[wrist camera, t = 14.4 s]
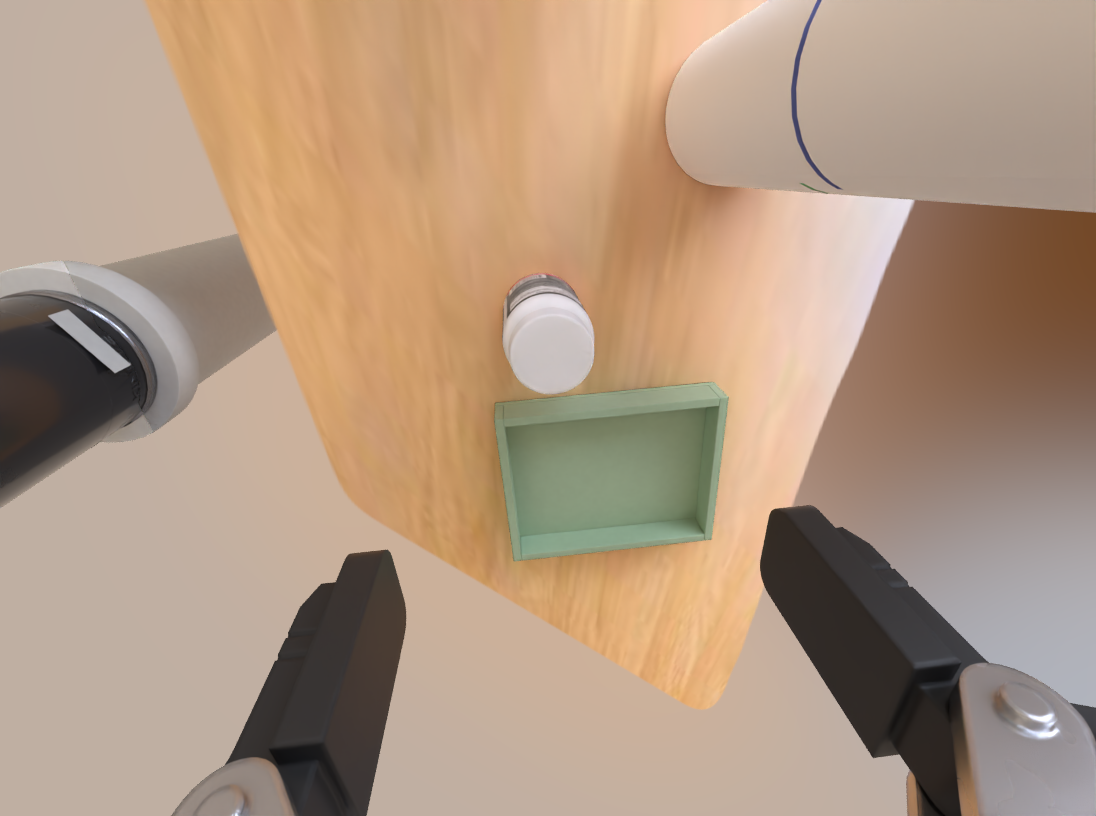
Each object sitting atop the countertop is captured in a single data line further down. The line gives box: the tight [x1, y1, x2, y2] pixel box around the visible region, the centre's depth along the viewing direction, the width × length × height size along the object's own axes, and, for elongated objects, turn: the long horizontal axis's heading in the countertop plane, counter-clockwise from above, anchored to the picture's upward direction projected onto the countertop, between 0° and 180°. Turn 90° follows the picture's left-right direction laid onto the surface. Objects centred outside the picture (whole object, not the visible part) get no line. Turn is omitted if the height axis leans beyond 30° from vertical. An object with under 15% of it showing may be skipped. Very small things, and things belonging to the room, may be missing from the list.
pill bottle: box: [502, 273, 594, 394], centre depth 25 cm, size 5×5×8 cm
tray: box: [494, 382, 728, 561], centre depth 34 cm, size 15×12×2 cm
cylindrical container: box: [665, 0, 1096, 212], centre depth 14 cm, size 7×7×25 cm
